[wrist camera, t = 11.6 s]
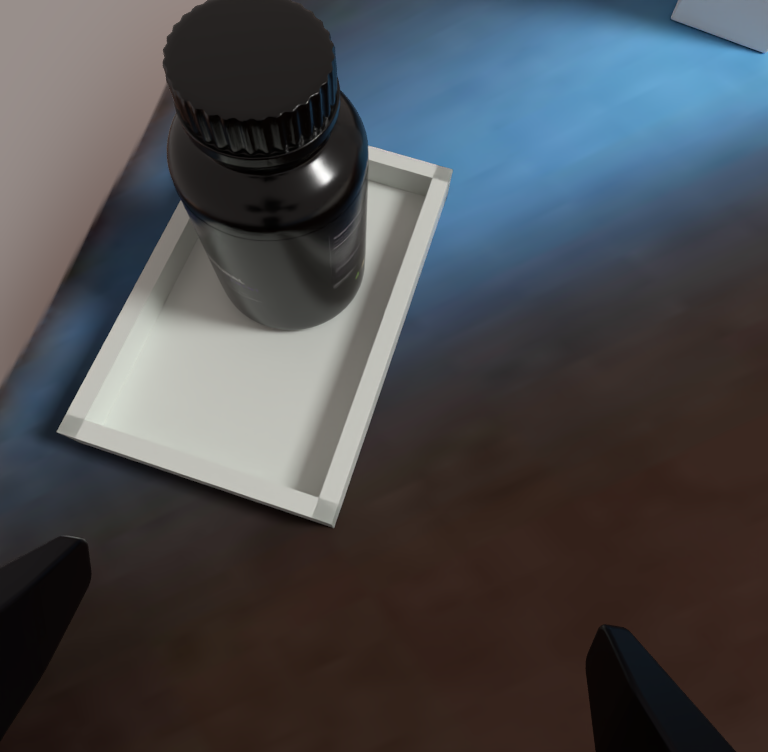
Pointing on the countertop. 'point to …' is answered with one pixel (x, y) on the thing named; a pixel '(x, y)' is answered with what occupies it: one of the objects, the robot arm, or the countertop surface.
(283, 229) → the supplement bottle
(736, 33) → the milk
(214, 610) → the countertop surface
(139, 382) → the tray
